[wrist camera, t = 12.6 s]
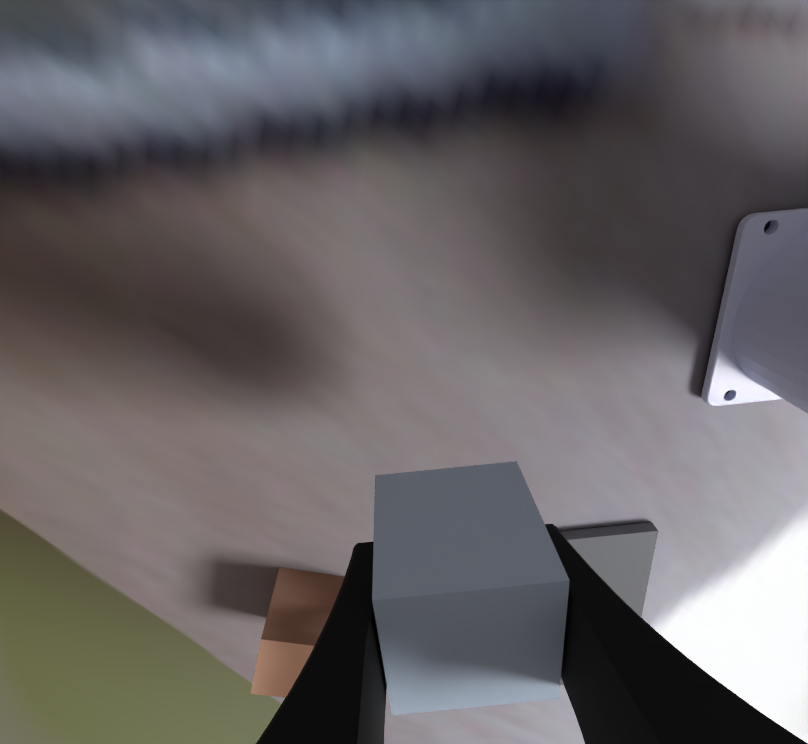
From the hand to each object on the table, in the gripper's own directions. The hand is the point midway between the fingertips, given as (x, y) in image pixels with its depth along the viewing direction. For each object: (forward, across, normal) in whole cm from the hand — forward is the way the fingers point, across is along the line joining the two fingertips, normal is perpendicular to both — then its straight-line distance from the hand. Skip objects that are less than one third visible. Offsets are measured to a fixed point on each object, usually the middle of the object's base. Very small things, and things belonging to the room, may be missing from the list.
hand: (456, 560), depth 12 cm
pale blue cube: (+1, 0, 0) cm, 1 cm away
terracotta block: (+8, +7, +11) cm, 16 cm away
